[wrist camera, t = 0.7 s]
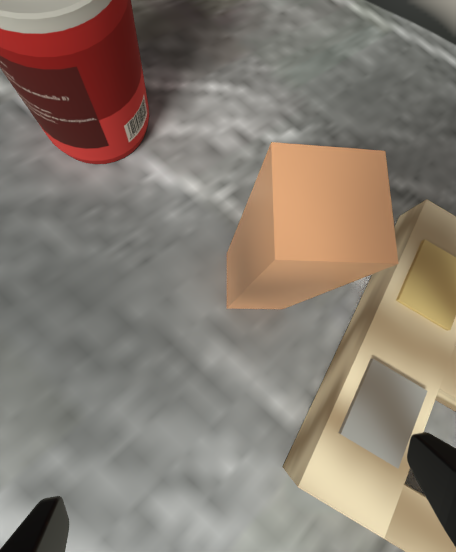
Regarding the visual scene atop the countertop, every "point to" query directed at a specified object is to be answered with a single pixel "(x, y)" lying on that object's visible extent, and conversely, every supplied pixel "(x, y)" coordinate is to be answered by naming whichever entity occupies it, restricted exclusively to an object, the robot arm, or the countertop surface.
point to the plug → (311, 226)
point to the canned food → (77, 73)
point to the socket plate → (387, 389)
